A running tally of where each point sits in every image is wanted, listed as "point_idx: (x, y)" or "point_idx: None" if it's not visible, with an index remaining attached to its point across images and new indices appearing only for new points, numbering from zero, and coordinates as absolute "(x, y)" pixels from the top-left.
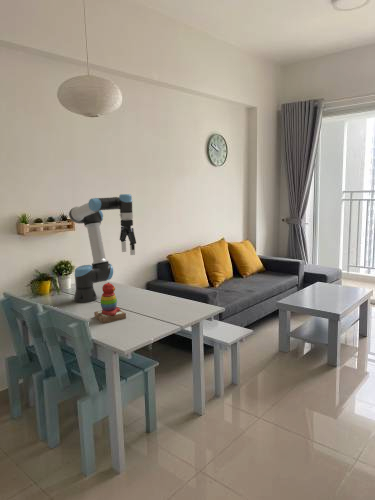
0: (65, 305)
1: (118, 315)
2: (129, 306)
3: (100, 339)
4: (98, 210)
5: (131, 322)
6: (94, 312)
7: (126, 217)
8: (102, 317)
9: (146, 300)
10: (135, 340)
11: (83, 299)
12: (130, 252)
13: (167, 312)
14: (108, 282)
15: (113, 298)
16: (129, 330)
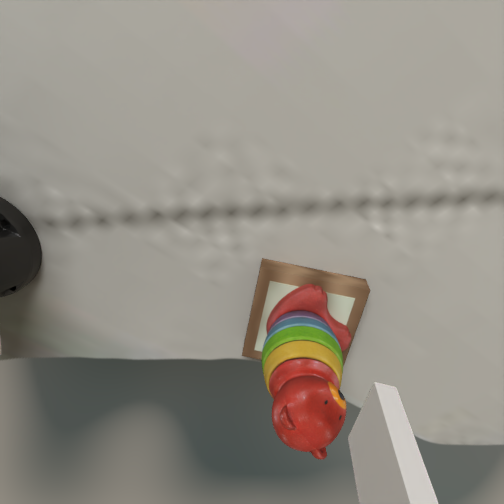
0: (27, 335)
1: (359, 320)
2: (239, 165)
3: (448, 438)
4: None
5: (425, 295)
6: (244, 355)
7: None
8: None
9: (220, 16)
10: None
11: (26, 281)
12: (363, 482)
13: (494, 88)
14: (289, 427)
15: (341, 372)
16: (482, 349)
